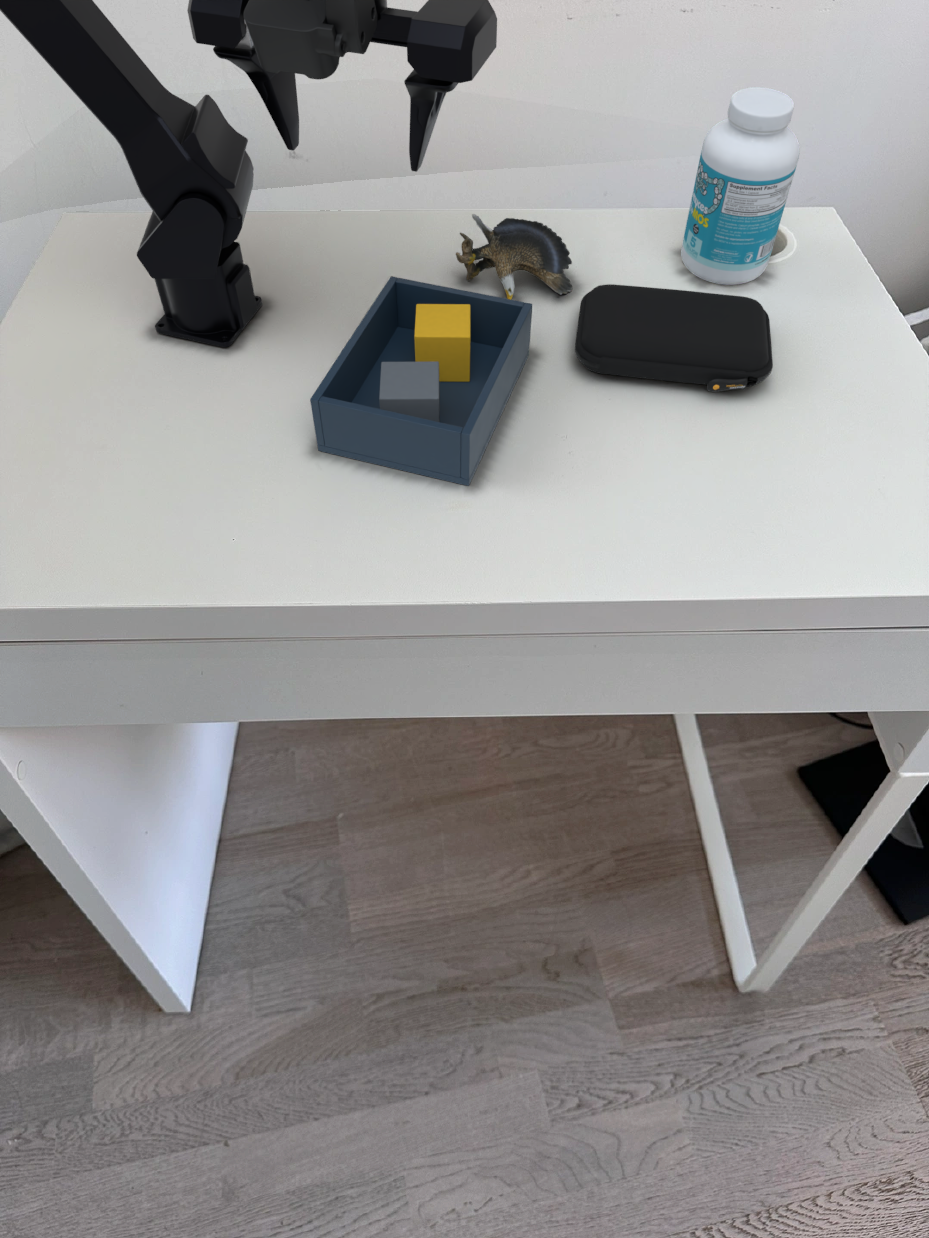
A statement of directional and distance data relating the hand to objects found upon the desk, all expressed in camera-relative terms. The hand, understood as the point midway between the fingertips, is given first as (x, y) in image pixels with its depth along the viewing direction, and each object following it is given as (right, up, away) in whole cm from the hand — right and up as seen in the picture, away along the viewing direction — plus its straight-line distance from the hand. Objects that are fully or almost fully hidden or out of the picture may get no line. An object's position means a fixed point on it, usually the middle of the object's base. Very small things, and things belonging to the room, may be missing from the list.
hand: (354, 158), depth 65 cm
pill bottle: (+30, -2, +16) cm, 34 cm away
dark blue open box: (+5, -16, +4) cm, 17 cm away
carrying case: (+24, -12, +8) cm, 27 cm away
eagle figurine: (+12, -4, +13) cm, 18 cm away
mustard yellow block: (+6, -13, +6) cm, 15 cm away
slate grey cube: (+4, -18, +2) cm, 19 cm away
